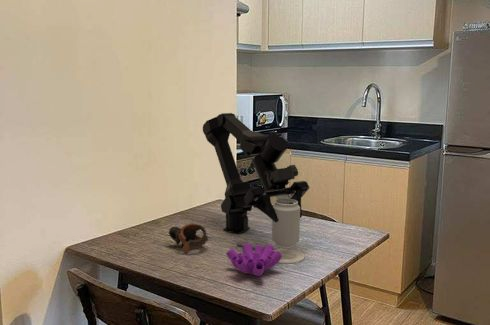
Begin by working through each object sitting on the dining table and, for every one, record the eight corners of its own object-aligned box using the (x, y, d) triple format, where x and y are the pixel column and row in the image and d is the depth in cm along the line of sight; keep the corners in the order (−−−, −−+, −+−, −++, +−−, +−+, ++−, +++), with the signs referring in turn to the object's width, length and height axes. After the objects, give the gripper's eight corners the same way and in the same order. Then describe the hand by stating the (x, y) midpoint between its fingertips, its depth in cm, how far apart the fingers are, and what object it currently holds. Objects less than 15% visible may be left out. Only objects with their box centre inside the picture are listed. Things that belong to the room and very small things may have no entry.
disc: (260, 258, 135) (260, 257, 135) (279, 248, 143) (279, 246, 143) (293, 266, 130) (293, 264, 130) (310, 255, 138) (310, 253, 138)
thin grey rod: (236, 245, 145) (236, 242, 145) (238, 244, 146) (238, 241, 146) (269, 253, 139) (269, 250, 139) (271, 252, 140) (271, 249, 139)
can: (294, 249, 131) (295, 205, 129) (267, 245, 134) (268, 202, 132) (302, 240, 138) (303, 199, 136) (277, 236, 141) (278, 196, 139)
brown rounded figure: (210, 244, 148) (213, 225, 143) (199, 267, 141) (202, 248, 136) (173, 232, 150) (174, 213, 144) (160, 254, 142) (161, 235, 137)
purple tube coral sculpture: (230, 291, 122) (213, 256, 125) (268, 273, 134) (251, 241, 136) (259, 275, 115) (240, 238, 118) (296, 257, 127) (278, 224, 129)
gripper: (249, 158, 130) (272, 209, 123) (306, 152, 139) (330, 199, 132) (235, 181, 138) (255, 230, 131) (289, 174, 148) (311, 220, 140)
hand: (289, 219), depth 133 cm, fingers closed on can, 7 cm apart
